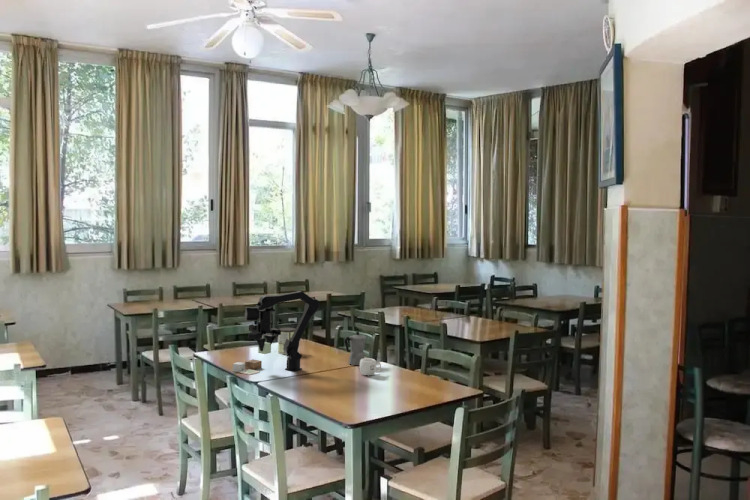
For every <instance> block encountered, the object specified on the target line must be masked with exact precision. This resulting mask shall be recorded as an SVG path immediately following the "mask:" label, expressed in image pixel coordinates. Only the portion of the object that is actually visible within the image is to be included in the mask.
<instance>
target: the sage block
mask: <svg viewBox="0 0 750 500" xmlns="http://www.w3.org/2000/svg"><path fill="white" fill-rule="evenodd" d="M257 346H258V350H257V353H258V354H262V355H263V354H264V355H267V354H271V353H272V344H271V343H268V342H266V341H265V343H264V348H263V351H260V348H259V345H258V344H257Z"/></svg>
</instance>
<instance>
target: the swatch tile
mask: <svg viewBox="0 0 750 500" xmlns="http://www.w3.org/2000/svg"><path fill="white" fill-rule="evenodd" d="M258 373H260V371H259V370H250V369H245V371H241V372H239V374H244V375H249V376H250V375H252V376H253V375H254V374H258Z"/></svg>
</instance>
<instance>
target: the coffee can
mask: <svg viewBox="0 0 750 500" xmlns="http://www.w3.org/2000/svg"><path fill="white" fill-rule="evenodd" d="M278 329H280V330H281V335H277V337H278V342H277V343H278V346H277V351H278V352H277V353H278V354H280V355H287V354H286V353H285V352H284V350H283V348H284V346H283V345H284V344H285V342H286V339H288V340H289V339H290V338H291V337H292V336H293V334H294V331H295V329H296V328H295V327H286V326H285V327H279V328H278Z"/></svg>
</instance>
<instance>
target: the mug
mask: <svg viewBox="0 0 750 500" xmlns="http://www.w3.org/2000/svg"><path fill="white" fill-rule="evenodd" d="M377 364H378V365H379V369H378V370H376V369H377ZM381 368H382V364H381V362H380V361H376V359H374V358H370V357H364V359H361V360H360V366H359V371H360V373H361V375H362V376H364V375H372V376H373V375H375V373H380V371H381Z"/></svg>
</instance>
